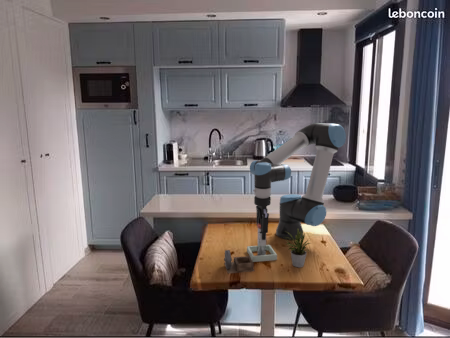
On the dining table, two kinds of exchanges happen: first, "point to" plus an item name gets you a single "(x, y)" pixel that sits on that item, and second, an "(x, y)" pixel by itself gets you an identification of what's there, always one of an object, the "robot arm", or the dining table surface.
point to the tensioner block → (238, 263)
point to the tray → (261, 257)
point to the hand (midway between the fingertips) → (261, 243)
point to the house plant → (298, 249)
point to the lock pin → (260, 249)
